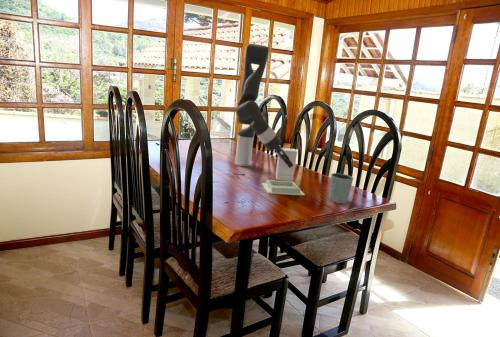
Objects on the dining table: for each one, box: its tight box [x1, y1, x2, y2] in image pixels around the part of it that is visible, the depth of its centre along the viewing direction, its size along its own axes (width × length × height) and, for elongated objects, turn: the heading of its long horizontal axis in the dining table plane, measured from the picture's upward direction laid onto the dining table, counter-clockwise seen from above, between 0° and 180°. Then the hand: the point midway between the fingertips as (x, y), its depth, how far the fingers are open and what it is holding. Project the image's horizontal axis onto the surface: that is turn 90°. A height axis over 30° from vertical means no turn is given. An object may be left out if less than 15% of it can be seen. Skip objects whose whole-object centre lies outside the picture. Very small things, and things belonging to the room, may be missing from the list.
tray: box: [261, 179, 306, 196], centre depth 171 cm, size 14×18×3 cm
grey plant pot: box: [328, 172, 354, 204], centre depth 164 cm, size 10×10×12 cm
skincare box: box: [275, 147, 298, 182], centre depth 168 cm, size 8×6×15 cm
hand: (289, 164), depth 168 cm, fingers closed on skincare box, 6 cm apart
